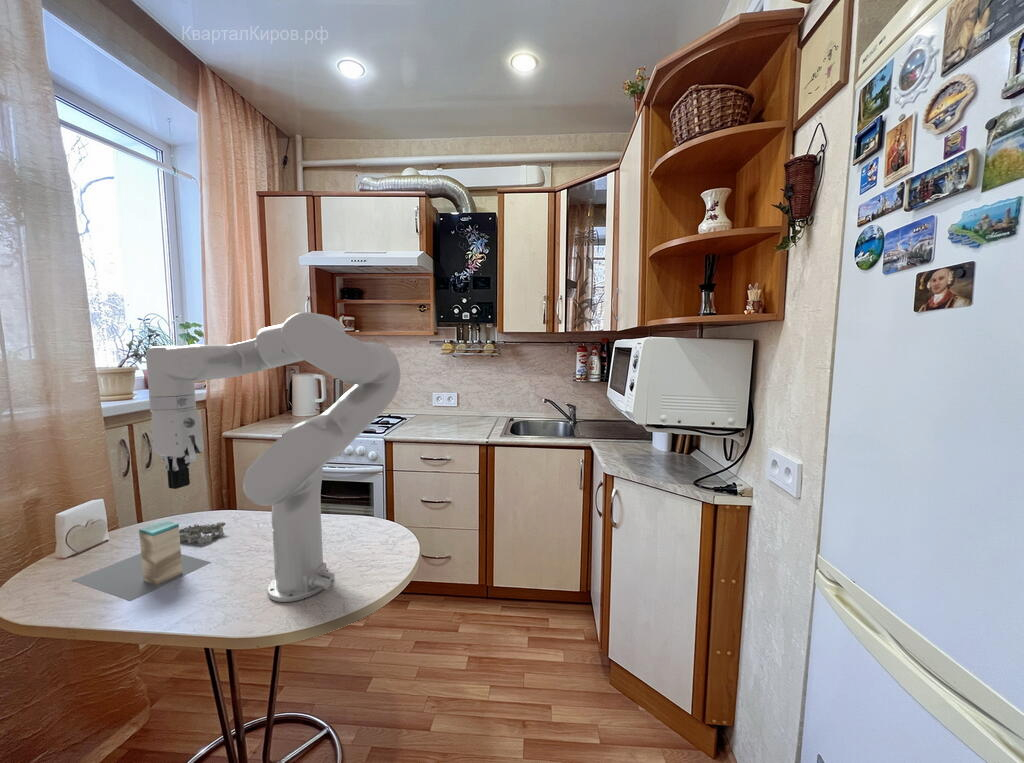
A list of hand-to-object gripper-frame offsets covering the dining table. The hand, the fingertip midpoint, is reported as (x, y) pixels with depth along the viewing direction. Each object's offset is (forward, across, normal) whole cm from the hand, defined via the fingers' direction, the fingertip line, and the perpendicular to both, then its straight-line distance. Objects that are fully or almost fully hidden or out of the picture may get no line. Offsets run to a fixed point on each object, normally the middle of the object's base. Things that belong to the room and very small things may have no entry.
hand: (179, 486), depth 86 cm
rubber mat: (+23, +15, 0) cm, 28 cm away
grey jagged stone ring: (+24, +21, -16) cm, 35 cm away
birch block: (+22, +8, 0) cm, 24 cm away
